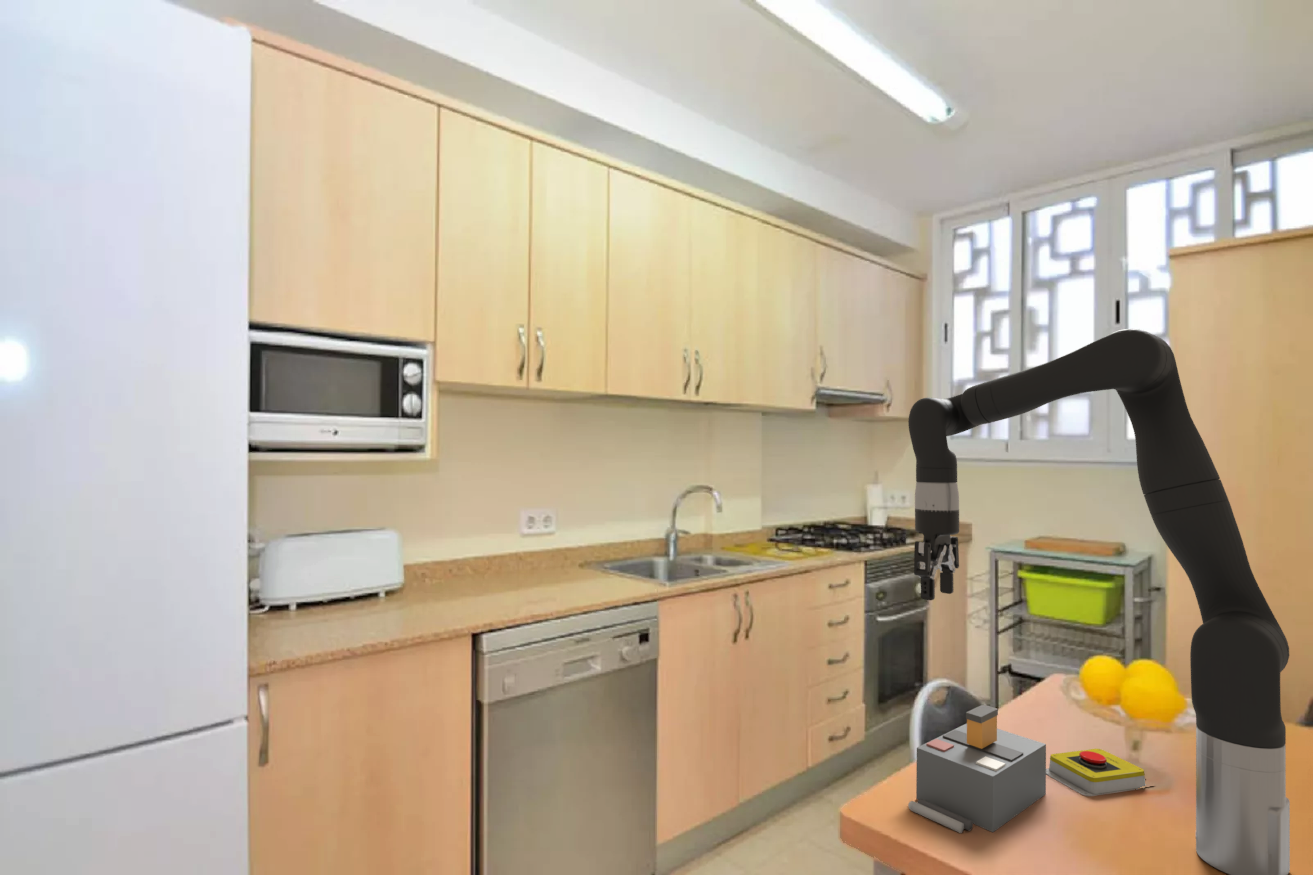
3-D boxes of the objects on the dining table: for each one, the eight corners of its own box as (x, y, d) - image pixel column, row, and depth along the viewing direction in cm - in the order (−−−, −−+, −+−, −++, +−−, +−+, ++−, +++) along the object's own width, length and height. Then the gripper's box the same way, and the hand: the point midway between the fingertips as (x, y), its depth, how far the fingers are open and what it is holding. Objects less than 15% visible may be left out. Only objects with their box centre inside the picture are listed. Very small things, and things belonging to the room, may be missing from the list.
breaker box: (1045, 794, 110) (1045, 742, 111) (992, 832, 99) (993, 774, 99) (972, 766, 120) (972, 718, 120) (916, 798, 109) (916, 745, 109)
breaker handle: (997, 740, 110) (997, 708, 111) (980, 749, 107) (981, 717, 107) (982, 735, 112) (983, 704, 112) (965, 744, 109) (966, 712, 109)
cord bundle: (972, 829, 100) (972, 819, 100) (962, 836, 98) (962, 826, 98) (917, 804, 107) (917, 795, 107) (906, 810, 105) (906, 801, 105)
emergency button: (1039, 747, 119) (1108, 739, 123) (1039, 773, 119) (1108, 764, 123) (1085, 772, 110) (1158, 762, 114) (1085, 800, 110) (1158, 789, 114)
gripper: (941, 510, 118) (942, 605, 118) (972, 506, 128) (973, 593, 128) (899, 508, 123) (900, 599, 123) (932, 504, 133) (933, 588, 133)
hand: (937, 596), depth 125 cm, fingers open, 8 cm apart
